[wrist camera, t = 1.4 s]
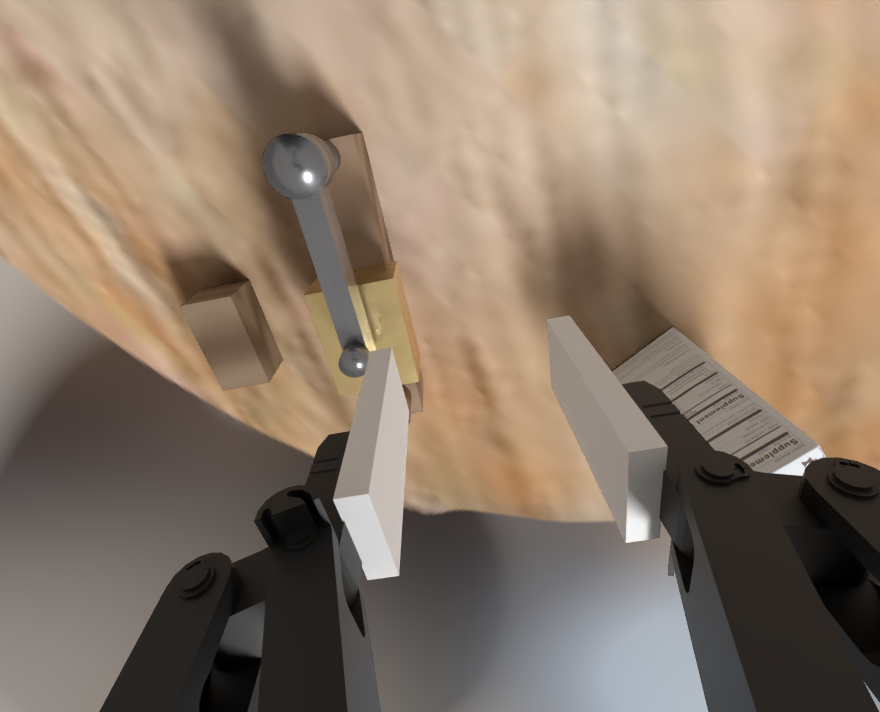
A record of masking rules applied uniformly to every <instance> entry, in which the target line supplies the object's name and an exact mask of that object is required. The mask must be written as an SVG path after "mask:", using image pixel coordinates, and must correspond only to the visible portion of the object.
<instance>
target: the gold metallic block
mask: <svg viewBox="0 0 880 712" xmlns="http://www.w3.org/2000/svg"><path fill="white" fill-rule="evenodd" d="M353 272H354V276H355V279H356V283H357V286H358V289H359V293H360V296H361V300H362V303H363V306H364V310H365V313H366V317H367V320H368V324H369V327H370V330H371V334H372V337H373V341H374V344H375V347H376V350H380V349H386V348H391V347H392V350H393V354H394V358H395V361H396V365H397V369H398V372H399V376H400V380H401V383H402V385H403V384H409V383H415V382H419V366H420V355H419V350H418V346H417V342H416V338H415V334H414V329H413V325H412V321H411V317H410V313H409V309H408V304H407V300H406V296H405V292H404V288H403V284H402V279H401V275H400V271H399V267H398V263H397V261H395V262H390V263H385V264H379V265H374V266H369V267H364V268H359V269H354V270H353ZM304 298H305V300H306V303H307V306H308V309H309V311H310V314H311V317H312V320H313V322H314V325H315V328H316V331H317V334H318V336H319V339H320V342H321V345H322V347H323V350H324V353H325V356H326V358H327V361H328V364H329V367H330V370H331V372H332V375H333V378H334V381H335V383H336V386H337V389H338V392H339V394H340V395H346V394H352V393H358V392H360V390H361V386H362V382H363V378H364V375H363V376H361V377H358V378H352V377H348V376H346V375H344V374H343V373H342V372H341V371H340V369H339V365H338V362H339V359H340V356H341V353H342V348H341V345H340V342H339V339H338V336H337V333H336V330H335V327H334V324H333V321H332V318H331V315H330V312H329V309H328V306H327V303H326V300H325V297H324V294H323V292H322V289H321V286H320V283H319V280H318V277H317V278H316V279H315V281H314V282H313V283H312V285H311V286H310V288H309V289H308V290H307V292H306V293H305V295H304Z"/></svg>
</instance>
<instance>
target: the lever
mask: <svg viewBox="0 0 880 712" xmlns="http://www.w3.org/2000/svg"><path fill="white" fill-rule="evenodd" d="M263 170H264V173H265V176H266V178H267V180H268V182H269V183H270V185H271V186H272V187H273V188H274V189H275V190H276V191H277V192H278V193H279V194H281V195H283V196H284V197H287V198H290V199H291V200H292V203H293V206H294V209H295V211H296V214H297V217H298V220H299V223H300V226H301V229H302V232H303V235H304V238H305V241H306V244H307V247H308V250H309V253H310V256H311V259H312V262H313V265H314V268H315V271H316V274H317V277H318V280H319V283H320V286H321V289H322V292H323V294H324V297H325V300H326V303H327V306H328V309H329V312H330V315H331V318H332V321H333V324H334V327H335V330H336V333H337V336H338V339H339V342H340V345H341V348H342V353H341V356H340V359H339V362H338V365H339V369H340V371H341V372H342V373H343V374H344V375H346V376H348V377H352V378H358V377H361V376H363V375H364V374H365V370H366V366H367V362H368V358H369V354H370V351H375V350H376V347H375V344H374V341H373V337H372V334H371V330H370V327H369V324H368V320H367V317H366V313H365V310H364V306H363V303H362V300H361V296H360V293H359V289H358V286H357V283H356V279H355V276H354V272H353V269H352V266H351V262H350V259H349V255H348V252H347V249H346V245H345V242H344V238H343V235H342V232H341V228H340V225H339V221H338V218H337V215H336V211H335V208H334V204H333V201H332V198H331V194H330V191H329V187H328V185H329V184H330V182H331V181H332V179H333V176H334V172H335V161H334V157H333V154H332V152H331V150H330V149H329V147H328V146H327V144H326V143H325V142H324V141H323V140H321V139H320V138H318V137H317V136H315V135H312V134H309V133H294V134H283V135H279V136H277V137H275V138H274V139H272V140H271V141H270V142H269V144H268V145H267V146H266V148H265V151H264V154H263Z"/></svg>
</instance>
